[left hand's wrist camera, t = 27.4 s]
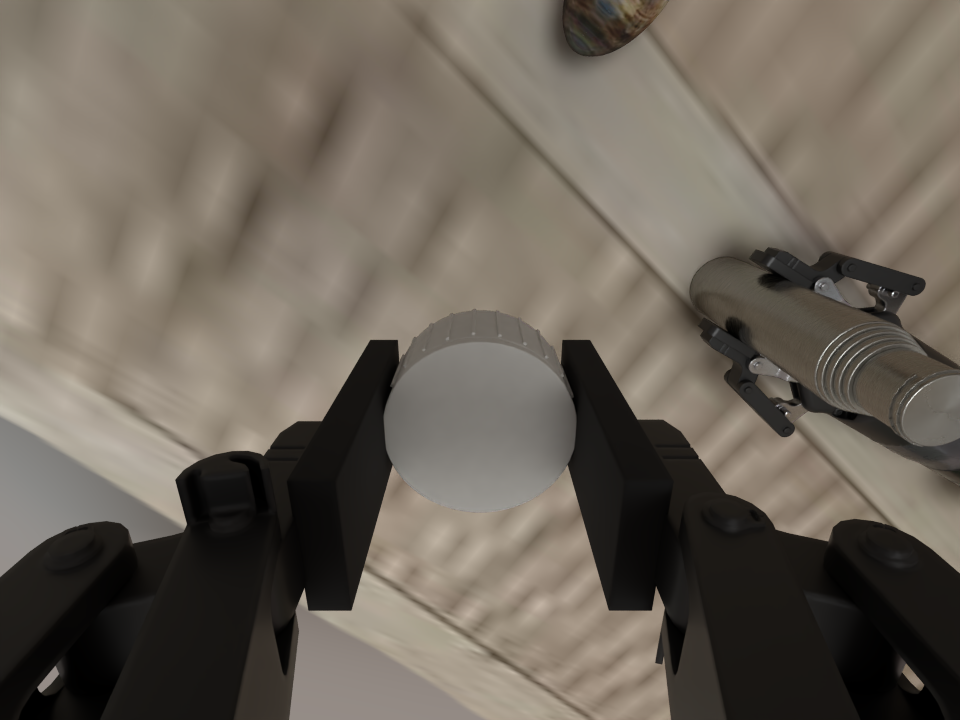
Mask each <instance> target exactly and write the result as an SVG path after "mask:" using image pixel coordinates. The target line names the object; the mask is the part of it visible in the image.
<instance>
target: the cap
mask: <svg viewBox="0 0 960 720" xmlns="http://www.w3.org/2000/svg"><path fill="white" fill-rule="evenodd" d="M390 387H392V390H391V393H390V395H389V398H388V400H387V403H386V406H385V411H384V431H385V443H386V450H387V453H388V456H389V458H390V460H391V462H392V464H393V466H394V467H395V469H396V471H397V472H398V473H399V475H400V476H401V477H402V479H403V480H404V481H405V482H406V483H407V484H408V485H409V486H410V487H411V488H413V489H414V490H415V491H416V492H418V493H419V494H420V495H422V496H424V497H425V498H427V499H429V500H431V501H433V502H435V503H437V504H439V505H442V506H445V507H448V508H451V509H455V510H460V511H466V512H494V511H501V510H505V509H510V508H513V507H516V506H519V505H521V504H523V503H526V502H528V501H530V500H532V499H533V498H535V497H537V496H538V495H540V494H541V493H543V492H544V491H545V490H546V489H548V488H549V487H550V486H551V485H552V484H553V483H554V482H555V481H556V480H557V479H558V478H559V476H560V475H561V474H562V472H563V471H564V470H565V468H566V466H567V464H568V463H569V461H570V459H571V456H572V454H573V451H574V447H575V436H576V423H577V415H576V410H575V406H574V403H573V400H572V398H574V395H573V393H572V390H571V387H570V385H569V382H568V380H567V377H566V374H565V372H564V369H563V367H562V364H560V363H559V360H558V358H557V355H556V352H555V350H554V347H553V346H550V345H549V344H548V342H547V341H546V340H545V338H544V337H543V336H542V335H541V334H540V331H539V330H538V329H537V330H535V329H534V328H532V327H531V326H530V325H528V324H527V323H525V322H523V321H522V320H521V318H519V317H518V318H515V317H513V316H510V315H507V314H503V313H500V312H499V311H497V310H496V312H494V311H486V310H476V309H473V311H466V312H461V313H456V314H453V313H451V314H450V316H448V317H445V318H443V319H441V320H439V321H437V322H435V323H434V324H433V323H431V324H429V327H428V328H427V329H425V330H424V331H423V332H422V333H421V334H420V335H419V336H418V337H417V338H416V337H414V338H413V340H412V343H411V346H410V347H409V349H408V351H407V352H406V354H405V355H402V357H401V360H400V362H399V365H398V368H397V370H396V373H395V375H394V378H393V380H392V383H391V385H390Z"/></svg>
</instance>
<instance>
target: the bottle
mask: <svg viewBox="0 0 960 720" xmlns="http://www.w3.org/2000/svg"><path fill="white" fill-rule="evenodd" d="M690 296H691V300H692V303H693V304H694V306H695V307H696V308H697V309H698V310H699V311H700V312H701V313H703V314H704V315H706V316H707V317H708V318H710V319H711V320H713V321H714V322H715V323H717V324H718V325H719V326H721V327H722V328H724V329H725V330H726V331H728V332H729V333H731V334H732V335H733V336H735V337H736V338H738V339H739V340H740V341H742V342H743V343H745V344H746V345H747V346H749V347H750V348H751V349H753V350H754V351H756V352H757V353H758V354H760V355H761V356H763V357H764V358H765V359H767V360H768V361H770V362H771V363H772V364H774V365H775V366H777V367H778V368H779V369H781V370H782V371H783V372H785V373H786V374H788V375H789V376H790V377H792V378H793V379H795V380H796V381H797V382H799V383H800V384H802V385H803V386H804V387H806V388H807V389H809V390H810V391H811V392H813V393H814V394H815V395H817V396H818V397H820V398H821V399H822V400H824V401H825V402H827V403H828V404H830V405H832V406H834V407H837V408H839V409H841V410H844V411H848V412H853V413H858V414H863V415H867V416H873V417H875V418H877V419H878V420H880V421H881V422H883V423H884V424H886V425H887V426H889V427H890V428H892V430H893V431H894V432H895V433H896V434H897V435H899V436H900V437H902V438H903V439H905V440H906V441H908V442H909V443H911V444H913V445H916V446H921V447H923V446H939V445H944V444H947V443H950V442H953V441H955V440H957V439H959V438H960V370H959V369H954V368H952V367H949V366H947V365H945V364H943V363H941V362H938V361H936V360H934V359H932V358H930V357H928V355H927V354H926V353H925V352H924V351H923V349H922V348H921V347H920V346H919V344H918V343H917V342H916V341H915V340H914V338H913V337H912V336H911V335H910V334H909V333H908V332H906V331H905V330H903V329H902V328H901V327H899V326H897V325H895V324H893V323H891V322H888V321H886V320H883V319H881V318H878V317H876V316H874V315H871V314H869V313H866V312H864V311H861V310H859V309H857V308H854V307H852V306H849V305H847V304H844V303H842V302H840V301H837V300H835V299H832V298H830V297H827V296H825V295H823V294H820V293H818V292H815V291H813V290H810V289H808V288H806V287H803V286H801V285H798V284H796V283H793V282H791V281H789V280H786V279H784V278H781V277H779V276H776V275H774V274H772V273H769V272H767V271H764V270H762V269H759V268H757V267H755V266H752V265H750V264H747V263H745V262H743V261H740V260H738V259H735V258H731V257H721V258H717V259H714V260H712V261H710V262H708V263H706V264H705V265H704V266H702V267H701V268H700V269H699V270H698V272H697V273H696V274H695V276H694V278H693V280H692V283H691V287H690Z"/></svg>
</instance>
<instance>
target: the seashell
mask: <svg viewBox="0 0 960 720" xmlns="http://www.w3.org/2000/svg"><path fill="white" fill-rule="evenodd" d="M668 1H669V0H564V5H563V28H564V32H565V36H566V39H567V42H568V44H569V46H570V47H571V48H572V49H573V50H574V51H575V52H576V53H578V54H580V55H583V56H601V55H605V54H608V53H611V52H613V51H615V50H617V49H619V48H621V47H623V46H624V45H626V44H627V43H629V42H630V41H632V40H633V39H634V38H636V37H637V36H638V35H639V34H640V33H641V32H643V31H644V30H645V29H646V28H647V27H648V26H649V25H650V24H651V23H652V22H653V20H654V19H655V18H656V17H657V16H658V15H659V13H660V12H661V11H662V10H663V8H664V7H665V6H666V4H667V3H668Z"/></svg>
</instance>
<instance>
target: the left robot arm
mask: <svg viewBox="0 0 960 720" xmlns="http://www.w3.org/2000/svg"><path fill="white" fill-rule="evenodd" d="M561 364H562V367H563V369H564V372H565V374H566V377H567V380H568V382H569V385H570V387H571V390H572V393H573V395H574V398H572V400H573V403H574V406H575V410H576V415H577V423H576V436H575V447H574V451H573V454H572V456H571V459H570V461H569V463H568V467H569V471H570V474H571V478H572V482H573V485H574V489H575V492H576V496H577V499H578V503H579V506H580V510H581V513H582V517H583V520H584V524H585V528H586V531H587V535H588V538H589V542H590V545H591V549H592V552H593V556H594V559H595V563H596V566H597V570H598V574H599V577H600V581H601V584H602V588H603V591H604V595H605V598H606V602H607V605H608V609H609V610H629V611H652V606H653V601H654V595H655V589H656V587H657V589H658V592H659V594H660V597H661V599H662V601H663V604H664V606H665V611H664V616H663V622H662V627H661V632H660V638H659V643H658V649H657V655H656V662H655V663H658V664H662V663H663V657H664V660H665V669H666V678H667V687H668V696H669V705H670V714H671V720H960V573H959V572H957V571H956V570H955V569H954V568H953V567H952V566H950V565H949V564H948V563H947V562H946V561H945V560H944V559H942V558H941V557H940V556H939V555H938V554H937V553H935V552H934V551H933V550H932V549H931V548H929V547H928V546H926V545H925V544H923V543H922V542H921V541H919V540H918V539H916V538H915V537H913V536H911V535H909V534H907V533H905V532H903V531H900V530H898V529H897V528H895V527H892V526H889V525H886V524H885V525H884V524H882V523H879V522H874V521H868V520H859V519H852V520H845V521H840V522H839V523H838V524H837V525H836V526H834V527H833V529H832V532H831V535H830V538H829V542H828V541H823V540H818V539H813V538H809V537H804V536H799V535H794V534H789V533H786V532H782V531H778V530H776V529H775V527H774V525H773V523H772V522H771V521H770V519H769V518H768V516H767V515H766V514H765V513H764V512H763V511H761V510H760V509H759V508H757V507H756V506H755V505H753V504H752V503H750V502H747V501H745V500H743V499H741V498H738V497H736V496H732V495H728V494H726V493H725V492H724V491H723V489H722V488H721V486H720V485H719V484H718V482H717V481H716V480H715V478H714V477H713V475H712V474H711V473H710V471H709V470H708V469H707V467H706V466H705V464H704V463H703V462H702V460H701V459H699V458H698V457H699V456H698V455H697V453H696V452H695V451H694V449H693V448H690V444H689V442H688V441H687V440H686V438H685V437H684V436H683V434H682V433H681V431H679V430H678V429H676V428H675V427H673V426H672V425H670V424H669V423H667V422H665V421H664V420H637V418H636V417H635V415H634V413H633V412H632V410H631V408H630V407H629V405H628V403H627V402H626V400H625V398H624V396H623V395H622V393H621V391H620V390H619V388H618V386H617V385H616V383H615V381H614V380H613V378H612V376H611V375H610V373H609V371H608V370H607V368H606V366H605V365H604V363H603V361H602V359H601V358H600V356H599V354H598V353H597V351H596V349H595V348H594V346H593V344H592V343H591V341H590V340H563V341H562V356H561ZM398 365H399V351H398V340H370V342H369V343H368V345H367V347H366V348H365V350H364V352H363V353H362V355H361V357H360V358H359V360H358V362H357V363H356V365H355V367H354V368H353V370H352V372H351V374H350V375H349V377H348V379H347V380H346V382H345V384H344V385H343V387H342V389H341V390H340V392H339V394H338V395H337V397H336V399H335V400H334V402H333V404H332V405H331V407H330V409H329V411H328V412H327V414H326V416H325V417H324V419H323V421H298V422H296V423H295V424H293V425H292V426H290V427H289V428H287V429H286V430H284V431H282V432H281V433H280V434H279V435H278V437H277V438H276V439H275V441H274V442H273V444H272V445H271V446H270V449H268V451H267V452H266V453H265V455H264V456H263V455H261V454H259V453H255V452H250V451H231V452H226V453H221V454H216V455H213V456H210V457H208V458H205V459H203V460H200V461H198V462H196V463H194V464H193V465H191V466H190V467H188V468H186V469H185V470H184V471H183V472H182V473H181V474H180V475H179V476H178V477H177V479H176V480H175V481H176V484H177V488H178V492H179V496H180V499H181V503H182V507H183V511H184V514H185V518H186V522H187V526H186V528H185V530H184V532H183V533H179V534H175V535H172V536H167V537H162V538H158V539H153V540H148V541H144V542H138V543H134V544H133V543H132V540H131V537H130V534H129V531H128V529H127V528H125V527H124V526H123V525H122V524H120V523H115V522H108V521H104V522H95V523H88V524H84V525H79V526H78V527H73V528H70V529H67V530H65V531H63V532H62V533H59V534H57V535H55V536H53V537H51V538H49V539H47V540H46V541H44V542H43V543H41V544H40V545H38V546H37V547H36V548H34V549H33V550H31V551H30V552H29V553H28V554H26V555H25V556H24V557H23V558H22V559H21V560H20V561H18V562H17V563H16V564H15V565H14V566H13V567H12V568H10V569H9V570H8V571H7V572H6V573H5V574H3V575H2V576H1V577H0V720H289V715H290V706H291V697H292V688H293V679H294V670H295V661H296V652H297V643H298V634H299V629H298V622H297V616H296V611H295V610H296V607H297V605H298V602H299V600H300V598H301V595H302V593H303V590H304V588H305V593H306V599H307V604H308V610H309V611H351V610H352V607H353V603H354V600H355V596H356V592H357V589H358V585H359V582H360V578H361V575H362V571H363V568H364V564H365V561H366V557H367V554H368V550H369V546H370V543H371V539H372V536H373V532H374V529H375V525H376V522H377V518H378V515H379V511H380V508H381V504H382V500H383V497H384V493H385V490H386V486H387V483H388V479H389V476H390V472H391V469H392V465H393V464H392V462H391V460H390V458H389V456H388V453H387V450H386V443H385V431H384V411H385V406H386V403H387V400H388V398H389V395H390V393H391V390H392V387H390V385H391V383H392V380H393V378H394V375H395V373H396V370H397V368H398ZM905 664H907V665H908V666H909V667H910V668H911V669H912V671H913V672H914V673H915V674H916V675H917V676H918V678H919V679H920V680H921V681H922V682H923V684H924V687H923V689H922V690H921V691H919V690H918V689H917V688H916V687H915V686H914V685H913V684H912V683H910V681H909V680H908V679H907V678H906V676H905V675H904V674H903V673H902V671H903V669H904V666H905ZM55 665H56V668H57V670H58V672H59V675H58V676H57V678H56V679H55V680H54V681H53V682H52V684H51V685H50V686H49V687H47V688H46V689H45V690H44V691H43V692H42V693H41V692H39V690H38V688H37V687H38V686H39V684H40V683H41V682H42V681H43V680H44V678H45V677H46V676H47V675H48V674H49V673H50V671H51V670H52V669H53V668H54V667H55Z"/></svg>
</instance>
